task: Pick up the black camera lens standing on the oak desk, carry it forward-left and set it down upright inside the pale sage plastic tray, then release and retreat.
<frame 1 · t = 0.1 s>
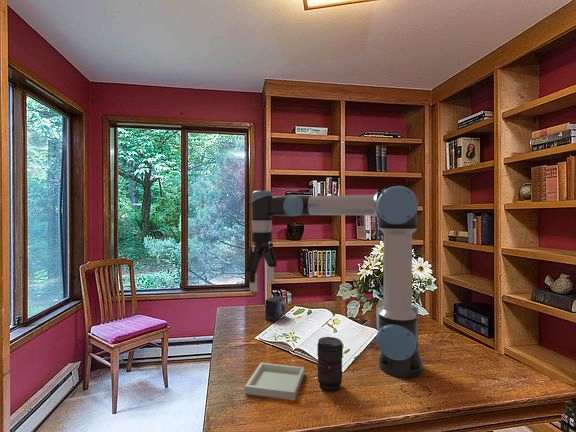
hand: (262, 287, 125), 28 cm above the table, fingers open, 13 cm apart
camera lens: (330, 387, 106), on the table
small box: (275, 318, 172), on the table
tray: (276, 383, 108), on the table
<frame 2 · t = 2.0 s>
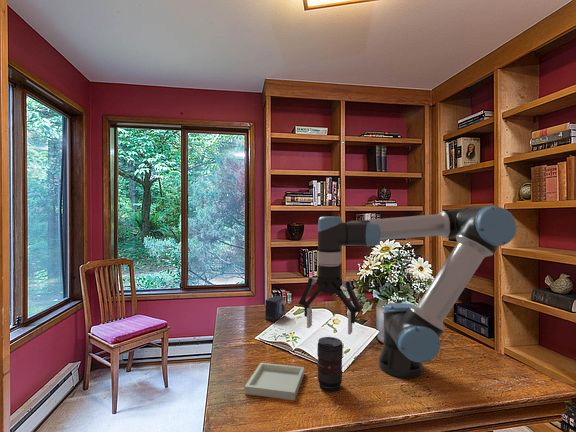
hand: (329, 329, 105), 19 cm above the table, fingers open, 13 cm apart
nothing on the table moved.
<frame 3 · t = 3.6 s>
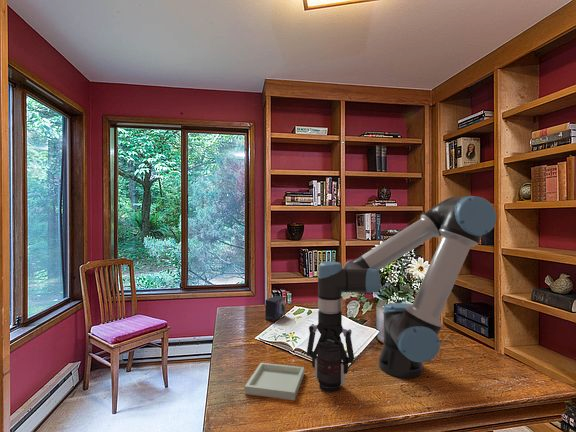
hand: (330, 379, 106), 2 cm above the table, fingers closed on camera lens, 8 cm apart
camera lens: (330, 387, 106), on the table, touching gripper
everything else where it was.
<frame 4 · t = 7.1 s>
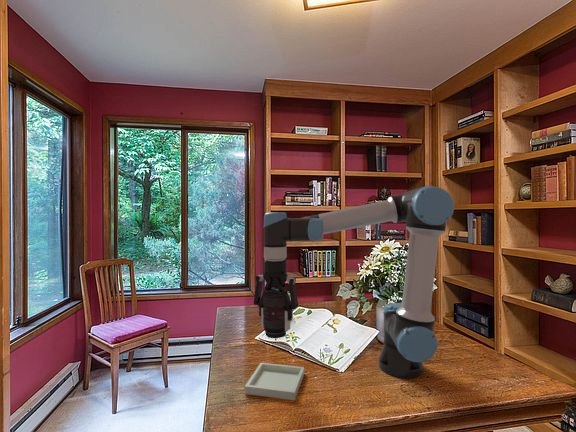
hand: (275, 327, 108), 19 cm above the table, fingers closed on camera lens, 8 cm apart
camera lens: (276, 335, 108), point 16 cm above the table, touching gripper
everything else where it was.
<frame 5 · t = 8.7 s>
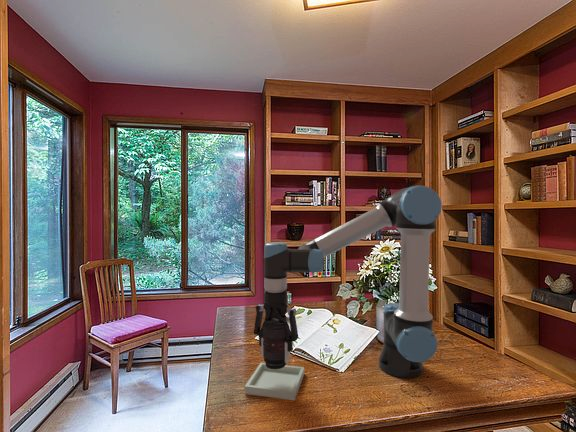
hand: (275, 358, 108), 8 cm above the table, fingers closed on camera lens, 8 cm apart
camera lens: (275, 365, 108), point 6 cm above the table, touching gripper
everything else where it was.
when the fingers open (4 cm above the table, at t = 10.1 s): camera lens stays where it is, resting on tray.
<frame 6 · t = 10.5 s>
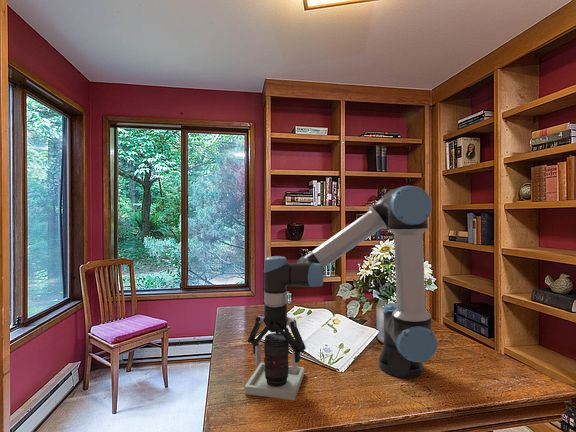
hand: (276, 367, 108), 5 cm above the table, fingers open, 13 cm apart
camera lens: (277, 382, 108), resting on tray
everything else where it was.
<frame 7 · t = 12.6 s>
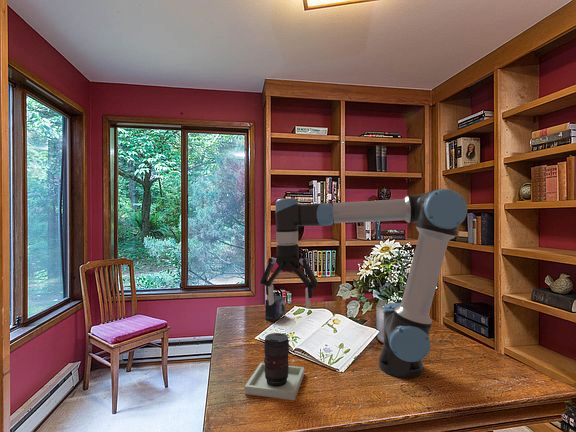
hand: (289, 305, 112), 25 cm above the table, fingers open, 13 cm apart
nothing on the table moved.
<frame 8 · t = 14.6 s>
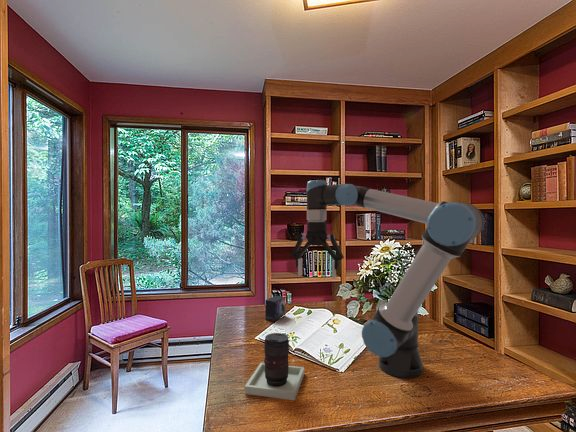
hand: (316, 276, 125), 32 cm above the table, fingers open, 13 cm apart
nothing on the table moved.
at the end: camera lens inside the target area on the tray (0.3 cm from its centre), point 0.4 cm above the tray's base; camera lens tilted 0°; camera lens touching tray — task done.
